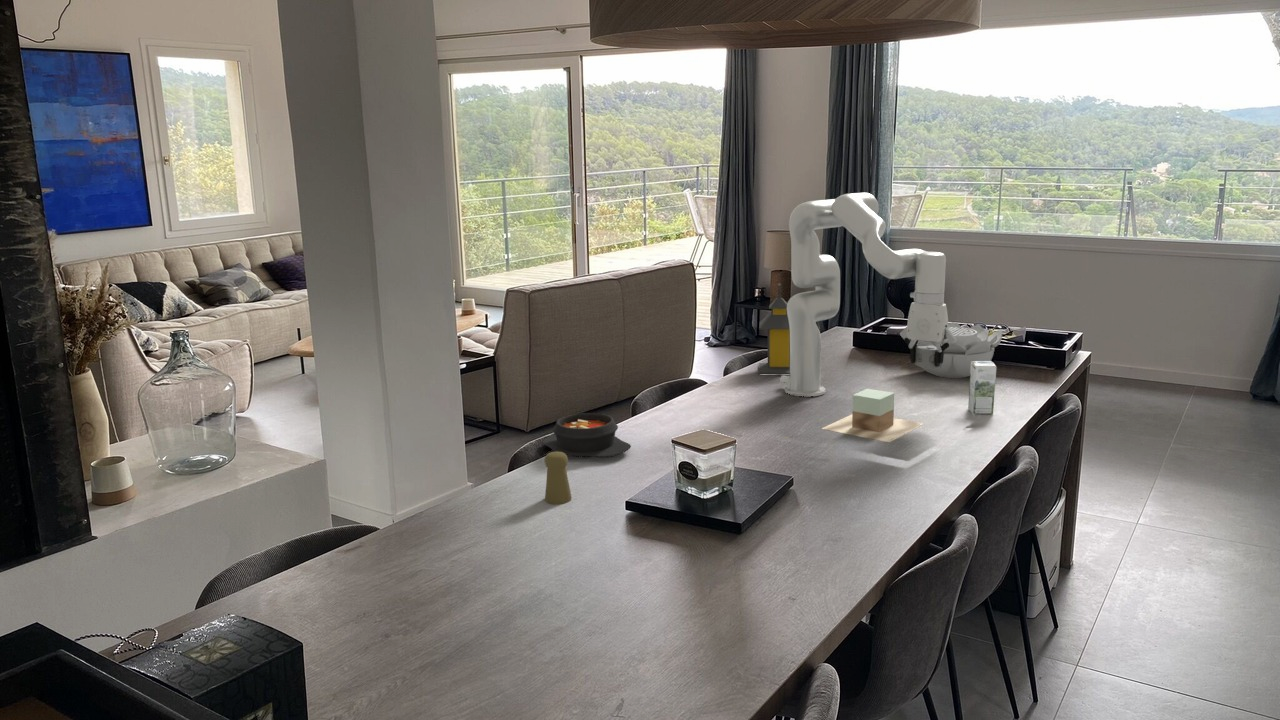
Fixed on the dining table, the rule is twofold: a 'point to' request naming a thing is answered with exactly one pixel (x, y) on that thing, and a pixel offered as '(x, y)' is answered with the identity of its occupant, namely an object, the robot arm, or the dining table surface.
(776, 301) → the lantern
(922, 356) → the dice cube
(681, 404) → the dining table surface
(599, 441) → the casserole
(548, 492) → the olive peg figure
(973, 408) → the syrup box
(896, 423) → the oak board
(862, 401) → the sage block
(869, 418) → the walnut block
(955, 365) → the decorative bowl
